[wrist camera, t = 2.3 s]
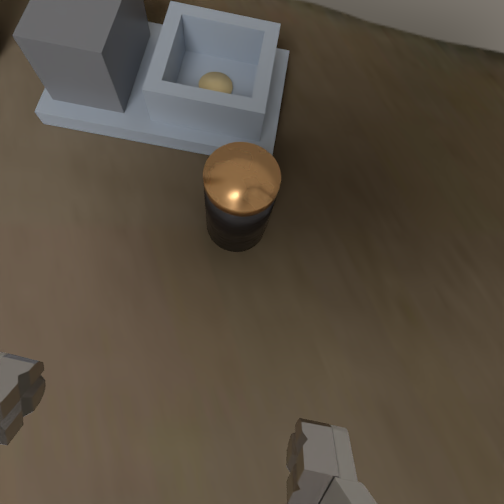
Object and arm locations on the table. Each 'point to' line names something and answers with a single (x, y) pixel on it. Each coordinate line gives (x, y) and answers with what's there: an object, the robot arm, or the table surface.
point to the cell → (239, 194)
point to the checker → (155, 72)
